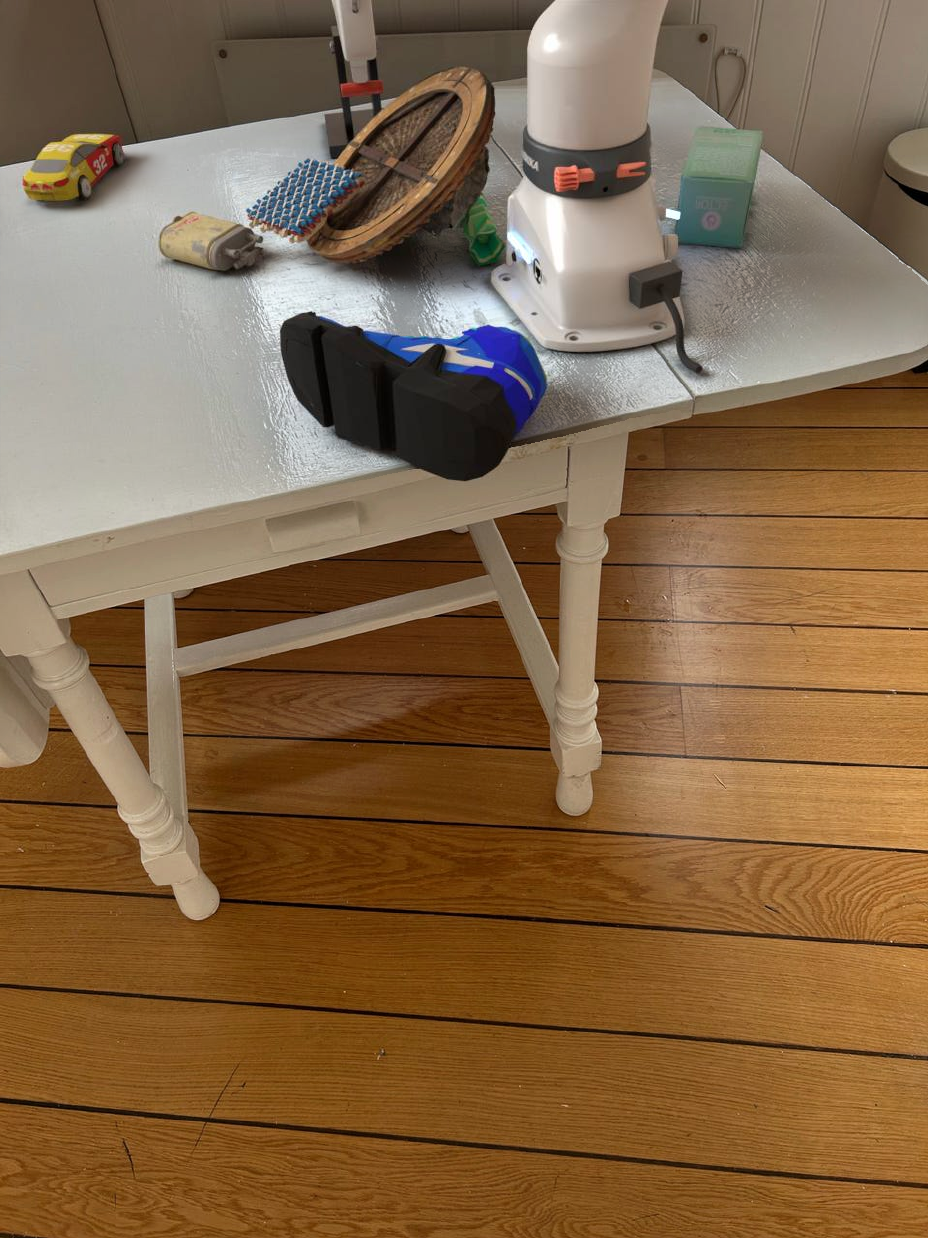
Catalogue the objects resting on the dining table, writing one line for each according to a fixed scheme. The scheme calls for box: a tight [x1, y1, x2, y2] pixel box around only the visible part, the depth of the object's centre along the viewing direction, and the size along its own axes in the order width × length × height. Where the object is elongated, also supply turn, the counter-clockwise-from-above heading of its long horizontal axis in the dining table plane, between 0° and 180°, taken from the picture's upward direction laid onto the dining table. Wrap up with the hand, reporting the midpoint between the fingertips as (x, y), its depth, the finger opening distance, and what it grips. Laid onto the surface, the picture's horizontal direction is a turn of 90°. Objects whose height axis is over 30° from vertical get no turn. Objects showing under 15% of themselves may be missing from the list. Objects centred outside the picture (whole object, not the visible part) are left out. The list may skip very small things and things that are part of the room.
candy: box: [459, 191, 506, 267], centre depth 102 cm, size 12×3×4 cm
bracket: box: [324, 25, 385, 160], centre depth 121 cm, size 12×10×13 cm
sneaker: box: [279, 310, 548, 482], centre depth 79 cm, size 9×24×15 cm
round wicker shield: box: [306, 66, 496, 264], centre depth 99 cm, size 25×3×25 cm
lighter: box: [157, 211, 265, 272], centre depth 102 cm, size 7×4×10 cm
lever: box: [341, 79, 384, 98], centre depth 115 cm, size 12×5×2 cm, turn 9°
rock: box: [419, 145, 491, 239], centre depth 101 cm, size 17×10×10 cm
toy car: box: [22, 133, 125, 202], centre depth 119 cm, size 8×17×5 cm, turn 171°
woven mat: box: [245, 157, 366, 244], centre depth 99 cm, size 10×11×2 cm
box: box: [674, 126, 764, 249], centre depth 101 cm, size 7×14×8 cm, turn 164°
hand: (360, 79), depth 112 cm, fingers closed
